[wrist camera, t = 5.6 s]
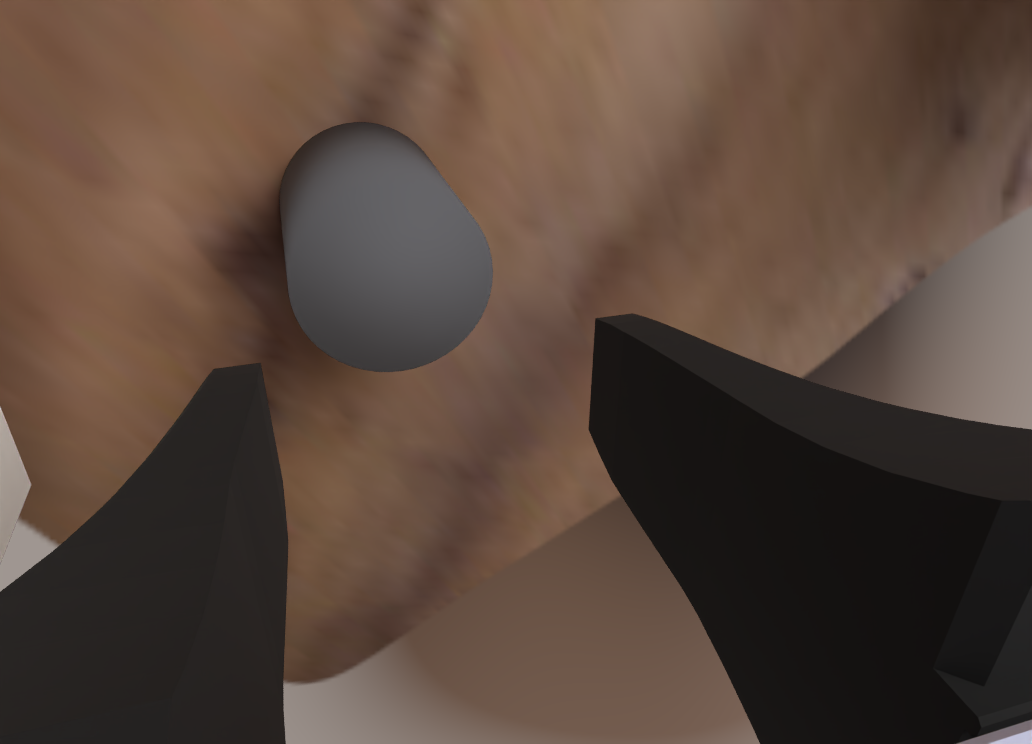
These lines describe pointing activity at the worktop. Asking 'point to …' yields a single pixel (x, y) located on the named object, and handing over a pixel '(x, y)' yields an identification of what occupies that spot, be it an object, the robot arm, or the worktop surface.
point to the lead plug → (379, 250)
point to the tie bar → (10, 485)
